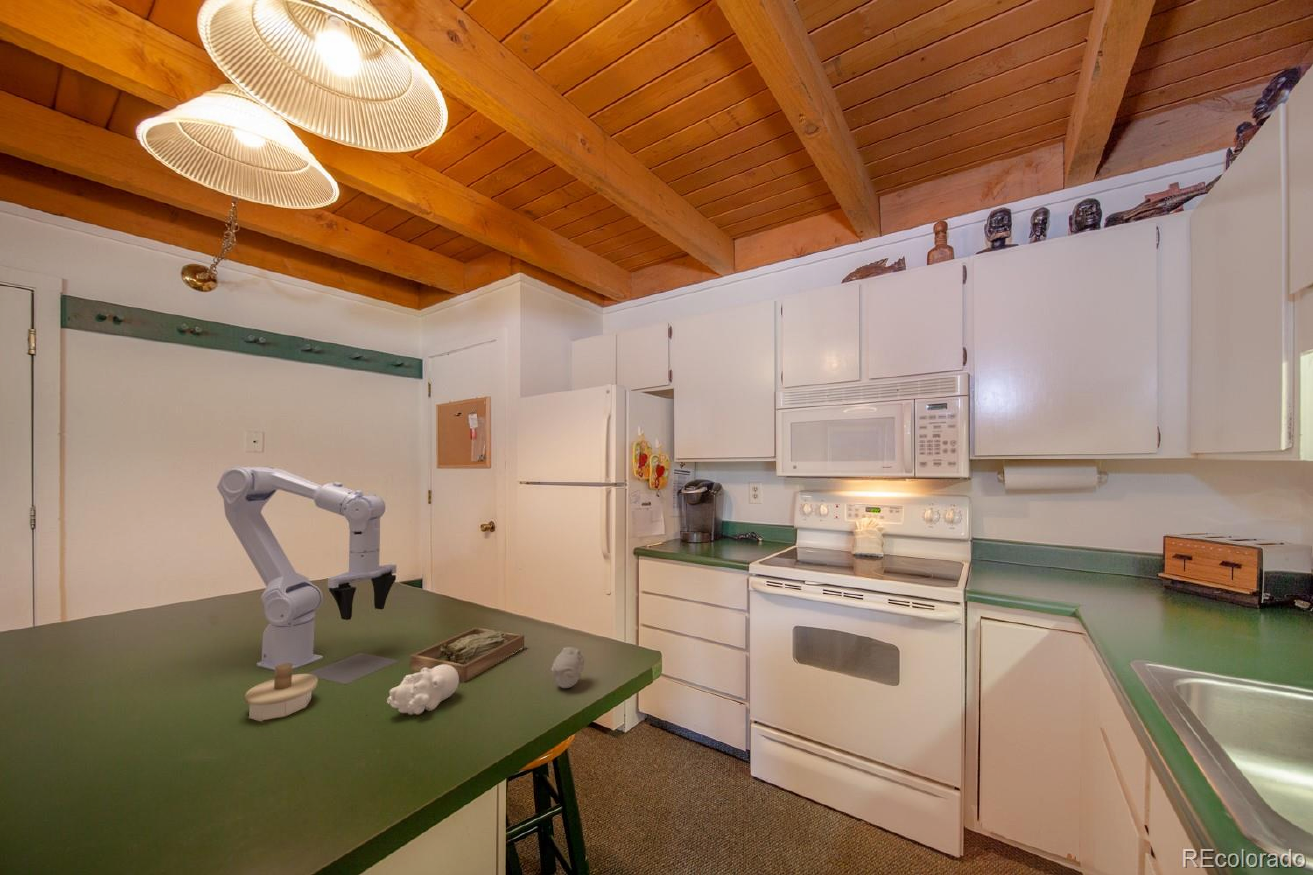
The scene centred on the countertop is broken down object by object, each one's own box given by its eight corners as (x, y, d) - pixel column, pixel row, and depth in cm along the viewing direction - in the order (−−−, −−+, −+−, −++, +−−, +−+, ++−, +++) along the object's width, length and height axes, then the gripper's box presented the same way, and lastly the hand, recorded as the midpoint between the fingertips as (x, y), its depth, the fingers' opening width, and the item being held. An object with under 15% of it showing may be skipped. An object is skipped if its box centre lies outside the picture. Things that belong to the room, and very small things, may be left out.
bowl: (240, 714, 82) (241, 696, 82) (291, 694, 89) (292, 677, 89) (269, 724, 79) (270, 705, 79) (319, 702, 86) (320, 684, 86)
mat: (304, 675, 97) (304, 674, 97) (360, 653, 108) (361, 652, 108) (344, 685, 92) (344, 684, 92) (399, 662, 103) (399, 660, 103)
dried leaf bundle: (456, 678, 96) (457, 650, 96) (433, 665, 102) (434, 639, 103) (518, 655, 107) (518, 631, 108) (493, 645, 113) (494, 622, 114)
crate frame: (409, 670, 99) (409, 655, 99) (474, 639, 116) (475, 627, 116) (463, 682, 94) (464, 666, 94) (524, 648, 111) (524, 635, 111)
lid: (233, 697, 82) (234, 671, 82) (299, 674, 91) (299, 651, 91) (263, 710, 77) (264, 683, 77) (329, 685, 86) (330, 660, 86)
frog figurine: (590, 681, 94) (591, 645, 94) (570, 697, 87) (570, 658, 88) (565, 676, 96) (565, 640, 97) (543, 690, 90) (543, 653, 90)
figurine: (472, 684, 87) (412, 709, 77) (453, 706, 89) (392, 733, 78) (456, 651, 90) (395, 671, 80) (437, 673, 92) (376, 695, 81)
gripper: (344, 557, 97) (343, 626, 96) (406, 546, 110) (405, 606, 109) (321, 555, 99) (319, 622, 99) (384, 544, 113) (383, 603, 112)
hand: (363, 613), depth 104 cm, fingers open, 7 cm apart
